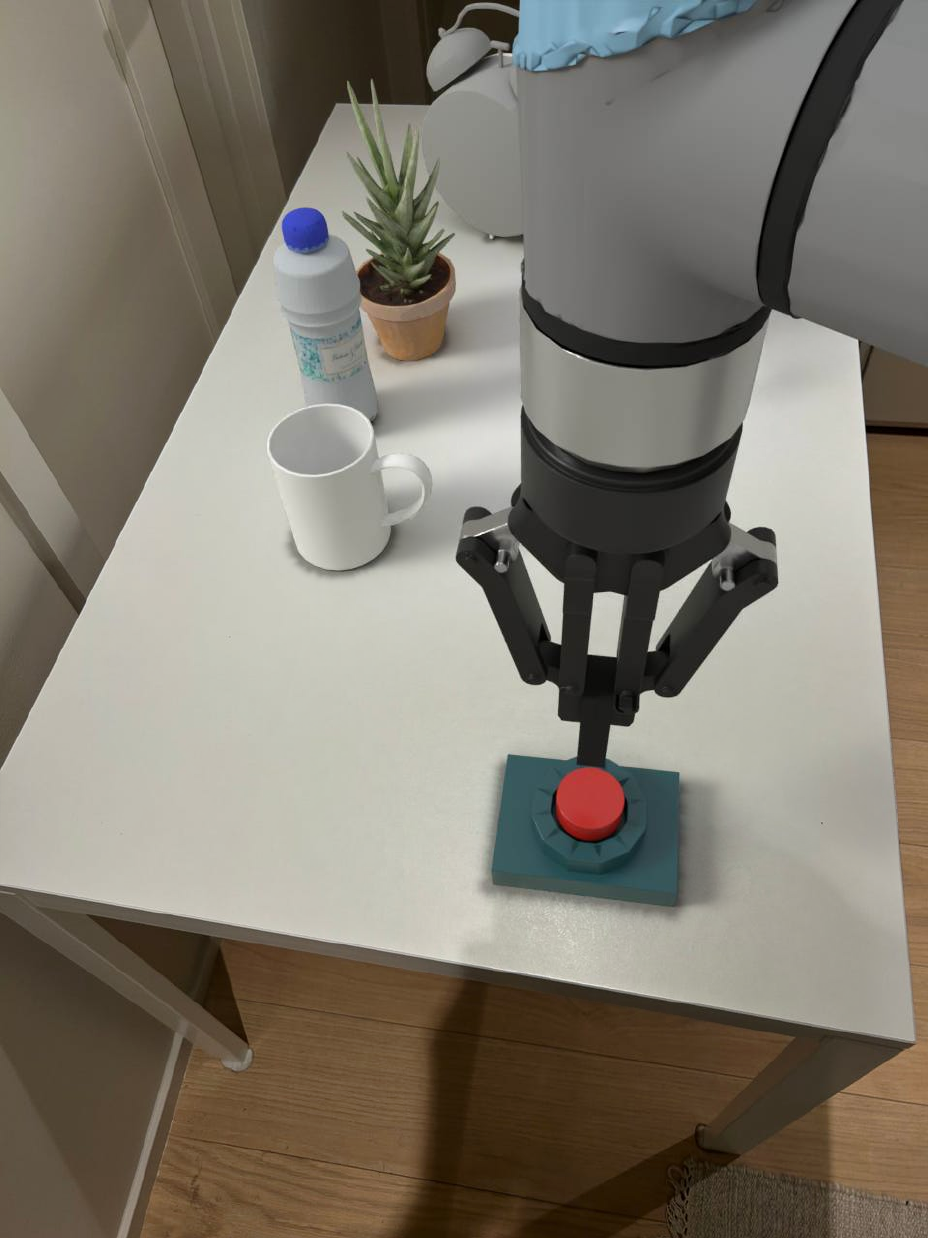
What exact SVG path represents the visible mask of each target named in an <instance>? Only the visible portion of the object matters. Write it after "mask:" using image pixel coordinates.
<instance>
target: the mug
mask: <svg viewBox="0 0 928 1238" xmlns="http://www.w3.org/2000/svg"><path fill="white" fill-rule="evenodd" d="M371 422H372V421H370V420H369V419H368V418H367V417H366V416H365V415H364V414H363V413H362V412H360V411H358V410H356V409H354V408H352V407H348V406H344V405H340V404H318V405H312V406H308V407H306V406H305V407H302V408H299V409H297V410H295V411H292V412H290V413H288V414H287V415H286V416H284V417H283V418H282V419H281V420H280V421H278V422H276V424H275V425H274V427H273V428H272V429H271V430H270V433H269V435H268V437H267V439H266V453H267V456H268V458H269V462H270V465H271V469H272V472H273V475H274V478H275V482H276V485H277V488H278V492H279V494H280V498H281V502H282V504H283V505H282V506H283V508H284V511H285V514H286V517H287V521H288V524H289V528H290V531H291V534H292V537H293V540H294V544H295V546H296V549H297V552H298V553H299V554H300V555H301V557H302V558H303V559H304V560H305V561H307V562H308V563H310V564H311V565H313V566H314V567H317V568H320V569H323V570H325V571H347V570H348V571H349V570H352V569H355V568H359V567H362V566H364V565H366V564H368V563H370V562H371V561H374V559H375V558H377V557H378V556H379V555H380V554H381V553H382V552H383V551H384V549H385V547H386V546H387V545H388V543H389V539H390V536H391V533H392V528H391V527H392V526H395V525H399V524H401V523H404V522H407V521H409V520H411V519H412V518H414V517H415V516H417V515H419V514H420V513H421V512H422V510H424V509H425V507H426V505H427V503H428V501H429V499H430V496H431V494H432V490H433V476H432V473H431V470H430V467H428V465H427V464H426V463H425V461H423V460H422V459H421V458H420V457H418V456H416V455H413V454H411V453H404V452H402V453H401V452H400V453H398V452H397V453H390V454H387V455H383V456H381V457H379V453H378V446H377V441H376V435H375V430H374V427H373V425H372V423H371ZM391 468H392V469H393V468H394V469H395V468H396V469H397V468H398V469H404V470H407V471H409V472H412V473H413V474H414V475H415V476H416V477H417V478H418V479H419V480H420V483H421V489H422V492H421V494H420V497H419V499H418V500H416V502H414V503H413V504H411V505H410V506H408V507H406V508H403V509H401V510H397V511H393V512H389V508H388V502H387V497H386V491H385V485H384V479H383V475H382V470H385V469H391Z"/></svg>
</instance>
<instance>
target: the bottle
mask: <svg viewBox="0 0 928 1238" xmlns="http://www.w3.org/2000/svg"><path fill="white" fill-rule="evenodd" d="M281 232H282V237H283V240H284V242H283V243H282V244H280V246H279V247H278V248H277V249H276V250H275V252H274V254H273V258H272V259H273V260H272V262H273V271H274V280H275V281H274V282H275V297H276V300H277V302H278V304H279V309H280V312H281V314H282V316H283V318H284V319H285V320H286V321H287V324H288V327H289V332H290V336H291V340H292V345H293V348H294V352H295V357H296V360H297V365H298V368H299V371H300V377H301V385H302V389H303V396H304V401H305V407H308V406H312V405H318V404H340V405H344V406H348V407H352V408H354V409H356V410H358V411H360V412H362V413H363V414H364V415H365V416H366V417H367V418H368V419H369V420H370V422H373V421H374V420H375V419H376V417H377V413H378V397H377V391H376V386H375V381H374V378H373V374H372V371H371V366H370V363H369V358H368V350H367V345H366V340H365V334H364V328H363V322H362V316H361V311H360V308H361V307H360V305H361V301H362V296H361V293H360V280H359V278H358V275H357V273H356V271H357V270H356V267H355V264H354V261H353V257H352V254H351V251H350V248H349V246H348V244H347V242H346V241H344V240H343V238H340V237H339V236H337V235H334V234H330V233H329V228H328V223H327V220H326V218H325V216H324V214H323V213H322V212H320V211H319V210H318V209H316V208H313V207H308V206H307V207H298V208H295V209H292V210H290V211H288V212H287V213H286V214H285V215H284V217H283V218H282V221H281Z"/></svg>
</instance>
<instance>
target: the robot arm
mask: <svg viewBox="0 0 928 1238" xmlns="http://www.w3.org/2000/svg"><path fill="white" fill-rule="evenodd" d="M519 11H520V12H519V17H518V34H517V35H516V36H515V37H514V39H513V44H512V50H511V51H512V53H511V54H512V62H514V66H515V67H516V78H517V100H518V123H519V145H520V168H521V190H522V212H523V234H522V235H523V258H522V260H521V262H520V273H521V285H520V287H519V289H518V290H519V293H518V294H519V297H518V298H519V300H518V301H519V304H518V305H519V306H518V307H519V374H520V376H519V377H520V379H519V381H520V382H519V383H520V386H519V387H520V388H519V389H520V400H521V409H520V483H519V485H518V486H517V487H516V488H515V489H514V490H513V493H512V494H511V497H510V506H509V507H507V508H504V509H502V510H499V511H496V512H493V513H492V512H491V510H489V509H488V508H485V507H483V506H470V507H469V508H467V509H466V511H465V512H464V513H463V520H462V524H461V529H460V535H459V539H458V544H457V548H456V553H455V561H456V563H457V565H458V566H459V567H460V568H461V569H462V570H463V571H464V572H465V573H466V574H467V575H468V576H470V577H471V579H472V580H473V581H475V582H476V584H478V585H479V586H480V587H481V589H482V591H483V593H484V596H485V597H486V600H487V602H488V605H489V607H490V609H491V612H492V614H493V616H494V618H495V621H496V623H497V626H498V628H499V630H500V632H501V635H502V637H503V640H504V642H505V644H506V647H507V649H508V651H509V654H510V655H511V658H512V661H513V663H514V665H515V667H516V670H517V672H518V674H519V677H520V679H521V681H522V682H523V683H525V684H528V685H530V686H541V685H543V684H545V683H546V682H550V683H552V684H554V685H555V686H557V688H558V699H557V701H558V702H557V716H558V718H559V720H560V721H561V722H570V723H579V729H578V730H579V731H578V740H577V741H578V742H577V751H576V752H577V753H576V756H577V763H576V765H582V766H591V767H600V768H604V767H605V760H606V759H607V753H608V747H609V746H608V745H609V738H610V731H611V726H617V727H626V728H629V727H630V726H632V725H633V724H634V723H635V719H636V718H635V717H636V714H637V713H638V712H639V711H640V698H641V694H643V693H645V692H650V691H654V693H655V695H657V696H659V697H661V698H666V699H671V698H675V697H678V696H679V695H680V694H681V693H682V692H683V690H684V689H685V687H686V686H687V684H688V683H689V682H690V681H691V680H692V678H693V677H694V675H695V674H696V673H697V671H698V670H699V669H700V667H701V666H702V665H703V663H704V662H705V660H706V659H707V658H708V657H709V655H710V654H711V652H713V650H714V648H715V647H716V646H717V645H718V643H719V642H720V640H721V639H722V638H723V636H724V635H725V634H726V632H728V630H729V628H730V627H731V626H732V624H733V623H734V622H735V620H736V619H737V618H738V616H740V614H741V612H742V611H743V610H744V609H746V608H747V607H749V606H750V605H752V604H754V603H755V602H756V601H758V600H760V599H761V598H763V597H765V596H767V594H770V593H771V592H773V591H774V590H775V589H776V588H777V587H778V585H779V569H778V550H777V536H776V533H775V531H774V530H773V529H771V528H769V527H767V526H756V527H753V528H751V529H748V530H747V531H746V530H744V529H742V528H740V527H738V526H737V525H735V524H733V523H732V522H731V517H732V511H731V508H730V505H729V503H728V501H727V496H728V492H729V488H730V484H731V481H732V480H731V479H732V475H733V472H734V467H735V464H736V459H737V456H738V451H739V447H740V443H741V438H742V435H743V430H744V429H743V428H744V421H745V420H746V417H747V414H748V410H749V407H750V404H751V399H752V395H753V391H754V387H755V382H756V377H757V373H758V369H759V366H760V361H761V357H762V353H763V352H762V351H763V348H764V343H765V338H766V335H767V330H768V326H769V321H770V317H771V313H772V311H776V312H778V313H781V314H783V315H786V316H789V317H790V318H791V319H794V320H800V319H801V320H802V319H803V320H805V321H809V322H811V323H814V324H815V325H816V324H817V325H819V326H821V327H824V328H826V329H829V330H832V331H833V332H837V333H839V334H842V335H844V336H847V337H849V338H851V339H855V340H857V341H859V342H862V343H865V344H867V345H869V346H872V347H874V348H877V349H879V350H882V351H885V352H887V353H889V354H892V355H895V356H897V357H899V358H901V359H905V360H907V361H909V362H912V363H914V364H917V365H918V366H922V367H924V368H927V369H928V0H519ZM520 544H521V546H522V547H523V548H524V549H526V550H527V552H529V554H531V555H532V557H534V558H535V559H536V561H537V562H539V564H540V565H542V567H544V568H545V570H546V571H547V572H549V573H550V574H551V576H553V577H554V578H555V579H556V580H557V581H559V582H560V583H562V584H563V595H562V597H563V598H562V621H561V623H562V624H561V639H560V640H561V641H560V643H557V642H553V641H552V635H551V633H550V630H549V627H548V623H547V621H546V618H545V615H544V613H543V610H542V608H541V604H540V602H539V598H538V597H537V593H536V591H535V588H534V586H533V582H532V580H531V578H530V575H529V572H528V570H527V566H526V563H525V560H524V558H523V555H522V553H521V550H520ZM709 561H710V562H709ZM707 563H709V564H708V565H707V566H706V568H705V569H704V571H703V573H702V574H701V576H700V578H699V579H698V580H697V582H696V584H695V585H694V587H693V588H692V590H691V591H690V593H689V594H688V596H687V597H686V599H685V601H684V602H683V604H682V605H681V607H680V608H679V610H678V611H677V613H676V614H675V616H674V617H673V618H672V621H671V622H670V624H669V625H668V627H667V628H666V630H665V631H664V633H663V635H661V637H660V639H659V641H657V644H656V645H655V650H649V647H650V641H651V636H652V632H653V631H652V630H653V624H654V621H655V619H656V615H657V610H658V605H659V599H660V594H661V592H662V591H664V590H666V589H668V588H669V589H670V587H672V586H673V585H674V584H676V583H678V582H680V581H681V580H682V579H684V578H685V577H687V576H689V575H690V574H691V573H693V572H695V571H696V570H698V569H700V568H701V567H702V566H704V565H705V564H707ZM598 593H613V594H618V595H621V596H623V602H622V609H621V616H620V624H619V632H618V640H617V647H616V655H615V656H611V655H598V654H589V644H590V636H591V626H592V625H591V624H592V617H593V605H594V597H595V594H598Z"/></svg>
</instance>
